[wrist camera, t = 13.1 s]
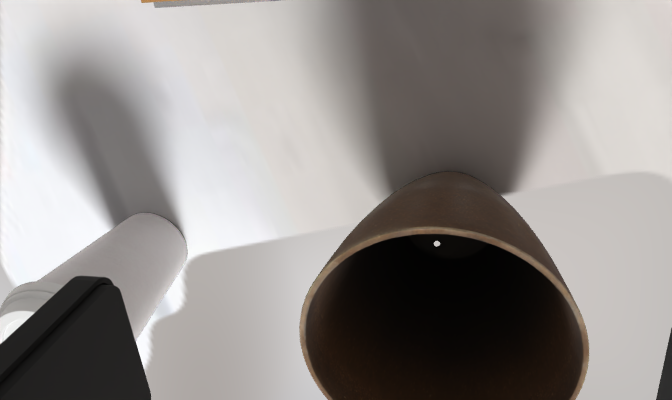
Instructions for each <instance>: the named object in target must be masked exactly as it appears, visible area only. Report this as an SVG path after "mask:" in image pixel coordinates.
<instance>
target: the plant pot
mask: <svg viewBox="0 0 672 400" xmlns="http://www.w3.org/2000/svg"><path fill="white" fill-rule="evenodd" d="M436 240H437V241H439V242H440V246H438V247H436V246H434V242H435V241H436ZM299 328H300V343H301V348H302V352H303V356H304V359H305V362H306V365H307V367H308V369H309V372H310V373H311V375H312V377H313V379H314V381H315V383H316V384H317V386H318V387H319V389H320V390H321V391H322V393H323V394H324V395H325V397H326V398H327V399H328V400H575V399H576V397H577V396H578V394H579V392H580V390H581V388H582V385H583V383H584V380H585V376H586V373H587V369H588V362H589V342H588V335H587V330H586V327H585V324H584V321H583V318H582V315H581V313H580V311H579V309H578V307H577V305H576V303H575V301H574V299H573V297H572V295H571V293H570V291H569V289H568V287H567V285H566V284H565V282H564V280H563V278H562V276H561V274H560V273H559V271H558V269H557V267H556V266H555V264H554V262H553V260H552V258H551V257H550V255H549V254H548V252H547V251H546V249H545V247H544V246H543V244H542V243H541V242H540V240H539V239H538V237H537V236H536V235H535V233H534V232H533V230H531V228H530V227H529V225H528V224H527V223H526V222H525V220H524V219H523V218H522V217H521V216H520V215H519V213H518V212H517V211H516V210H515V209H514V208H513V207H512V206H511V205H510V204H509V203H508V202H507V201H506V200H505V199H504V198H503V197H502V196H500V195H499V194H498V193H497V192H496V191H494V190H493V189H492V188H490V187H489V186H487V185H486V184H484V183H483V182H481V181H479V180H478V179H476V178H474V177H472V176H469V175H467V174H463V173H459V172H438V173H434V174H430V175H427V176H425V177H422V178H420V179H418V180H415V181H413V182H412V183H410V184H408V185H406V186H404V187H403V188H401V189H400V190H398V191H396V192H395V193H394V194H392V195H391V196H389V197H388V198H387V199H385V200H384V201H383V202H382V203H381V204H379V205H378V206H377V207H376V208H375V209H374V210H373V211H372V212H371V213H369V214H368V215H367V216H366V217H365V218H364V219H363V220H362V221H361V222H360V223H359V224H358V225H357V226H356V228H355V229H354V230H353V231H352V232H351V233H350V234H349V235H348V236H347V238H346V239H345V240H344V241H343V243H342V244H341V245H340V247H339V248H338V249H337V250H336V252H335V253H334V254H333V256H332V257H331V259H330V260H329V261H328V262H327V264H326V265H325V267H324V268H323V269H322V271H321V272H320V274H319V275H318V277H317V278H316V279H315V281H314V282H313V284H312V286H311V287H310V289H309V291H308V293H307V295H306V298H305V301H304V304H303V307H302V312H301V319H300V327H299Z"/></svg>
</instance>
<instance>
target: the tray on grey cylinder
mask: <svg viewBox="0 0 672 400" xmlns="http://www.w3.org/2000/svg"><path fill="white" fill-rule="evenodd" d="M262 1H279V0H141V2H142V3H147V2H154V6H155V8H160V7H177V6H194V5H211V4H228V3H245V2H262Z"/></svg>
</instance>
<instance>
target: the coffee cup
mask: <svg viewBox="0 0 672 400" xmlns="http://www.w3.org/2000/svg"><path fill="white" fill-rule="evenodd" d="M186 259H187V246H186V242H185V240H184V238H183V236H182V234H181V233H180V231H179V230H178V229H177V228H176V227H175V226H174V225H173V224H172V223H171V222H170V221H168V220H167V219H165V218H163V217H161V216H159V215H156V214H152V213H138V214H134V215H132V216H130V217H129V218H127V219H126V220H124V221H123V222H122V223H120V224H119V225H117V226H116V227H114V228H113V229H112V230H110V231H109V232H107V233H106V234H104V235H103V236H102V237H100V238H99V239H97V240H96V241H94V242H93V243H91V244H90V245H89V246H87V247H86V248H84V249H83V250H81V251H80V252H79V253H77V254H76V255H74V256H73V257H71V258H70V259H69V260H67V261H66V262H64V263H63V264H61V265H60V266H58V267H57V268H56V269H54V270H53V271H51V272H50V273H48V274H47V275H45V276H44V277H42V278H41V279H40V280H38V281H36V282H29V283H25V284H22V285H20V286H18V287H16V288H15V289H13V290H12V291H11V292H10V293H9V295H8V296H7V298H6V299H5V301H4V302H3V304H2V306H1V308H0V344H1V343H2V342H3V341H4V340H5V339H7V338H8V337H9V336H10V335H11V334H12V333H13V332H14V331H15V330H16V329H17V328H19V327H20V326H21V325H22V324H23V323H24V322H25V321H26V320H27V319H28V318H29V317H31V316H32V315H33V314H34V313H35V312H36V311H37V310H38V309H39V308H40V307H41V306H43V305H44V304H45V303H46V302H47V301H48V300H49V299H50V298H51V297H52V296H53V295H55V294H56V293H57V292H58V291H59V290H60V289H61V288H62V287H63V286H64V285H65V284H66V283H68V282H69V281H70V280H71V279H72V278H74V277H75V276H96V277H106V278H109V279H110V280H111V281H112V282H113V284H114V286H117V287H118V288H119V289H120V291H121V294H122V297H123V301H124V304H125V307H126V311H127V314H128V318H129V321H130V324H131V328H132V331H133V335H134V338H135V341H136V340H137V338H138V337H139V335H140V333H141V332H142V330H143V329H144V327H145V326H146V324H147V322H148V321H149V319H150V318H151V316H152V315H153V313H154V311H155V310H156V308H157V307H158V305H159V303H160V302H161V300H162V299H163V297H164V296H165V294H166V292H167V291H168V289H169V288H170V286H171V285H172V283H173V281H174V280H175V278H176V277H177V275H178V274H179V272H180V270H181V269H182V267H183V266H184V264H185V262H186Z"/></svg>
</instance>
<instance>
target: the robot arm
mask: <svg viewBox="0 0 672 400" xmlns="http://www.w3.org/2000/svg"><path fill="white" fill-rule="evenodd" d="M0 400H151V393H150V389H149V386H148V382H147V379H146V375H145V372H144V369H143V365H142V362H141V358H140V355H139V352H138V348H137V345H136V341H135V338H134V335H133V331H132V328H131V324H130V321H129V318H128V314H127V311H126V307H125V304H124V301H123V297H122V294H121V291H120V289H119V288H118V287H117V286H114V284H113V282H112V281H111V280H110V279H109V278H106V277H96V276H75V277H74V278H72V279H71V280H70V281H69V282H68V283H66V284H65V285H64V286H63V287H62V288H61V289H60V290H59V291H58V292H57V293H56V294H55V295H53V296H52V297H51V298H50V299H49V300H48V301H47V302H46V303H45V304H44V305H43V306H41V307H40V308H39V309H38V310H37V311H36V312H35V313H34V314H33V315H32V316H31V317H29V318H28V319H27V320H26V321H25V322H24V323H23V324H22V325H21V326H20V327H19V328H17V329H16V330H15V331H14V332H13V333H12V334H11V335H10V336H9V337H8V338H7V339H5V340H4V341H3V342H2V343H1V344H0ZM656 400H672V329H671V333H670V338H669V342H668V347H667V352H666V356H665V361H664V366H663V370H662V375H661V379H660V384H659V389H658V393H657V399H656Z"/></svg>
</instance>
